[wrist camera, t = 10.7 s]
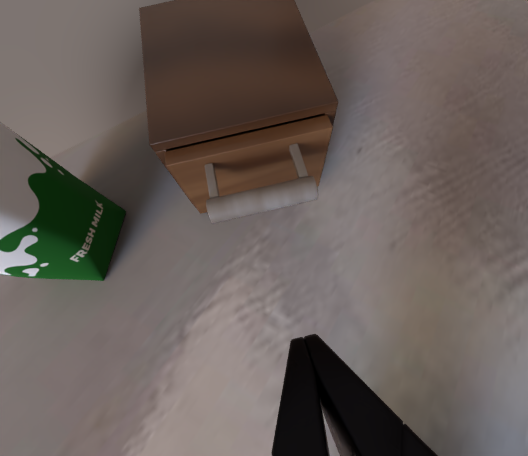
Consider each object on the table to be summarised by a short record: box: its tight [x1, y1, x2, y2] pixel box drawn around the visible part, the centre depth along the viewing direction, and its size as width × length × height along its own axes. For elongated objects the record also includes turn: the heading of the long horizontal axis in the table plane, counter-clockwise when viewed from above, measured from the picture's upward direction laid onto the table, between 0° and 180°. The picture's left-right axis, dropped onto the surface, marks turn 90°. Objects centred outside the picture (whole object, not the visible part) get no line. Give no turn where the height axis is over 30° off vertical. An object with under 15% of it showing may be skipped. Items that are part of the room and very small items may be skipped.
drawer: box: [165, 115, 333, 224], centre depth 23 cm, size 18×11×8 cm, turn 13°
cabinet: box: [139, 0, 338, 206], centre depth 24 cm, size 15×13×10 cm
